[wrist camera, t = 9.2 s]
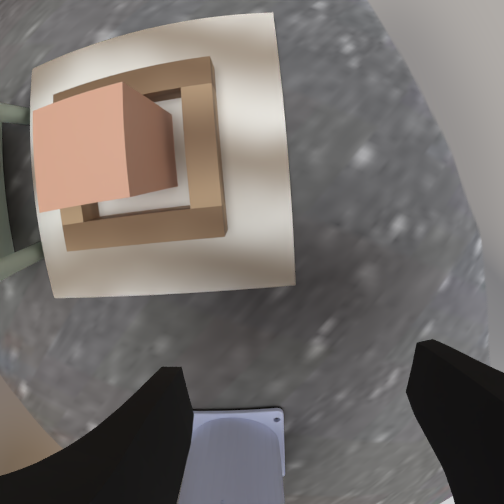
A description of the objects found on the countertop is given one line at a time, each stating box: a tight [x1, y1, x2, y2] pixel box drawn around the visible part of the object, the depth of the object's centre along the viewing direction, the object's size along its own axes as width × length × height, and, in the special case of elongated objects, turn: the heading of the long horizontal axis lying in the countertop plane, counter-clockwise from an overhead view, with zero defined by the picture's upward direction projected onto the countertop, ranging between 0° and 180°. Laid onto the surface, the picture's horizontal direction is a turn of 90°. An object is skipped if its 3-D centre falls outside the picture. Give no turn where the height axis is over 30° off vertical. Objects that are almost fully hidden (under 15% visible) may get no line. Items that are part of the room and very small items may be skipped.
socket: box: [30, 13, 296, 298], centre depth 15 cm, size 16×16×3 cm
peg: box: [33, 82, 178, 213], centre depth 12 cm, size 4×4×7 cm
